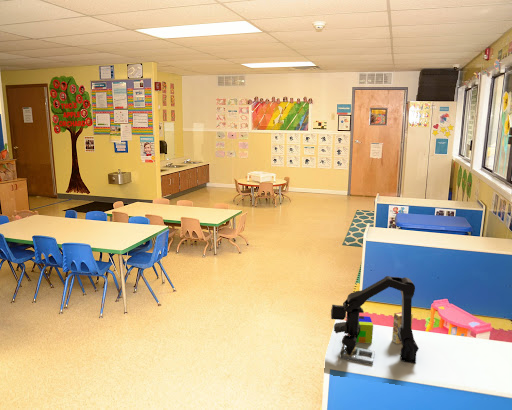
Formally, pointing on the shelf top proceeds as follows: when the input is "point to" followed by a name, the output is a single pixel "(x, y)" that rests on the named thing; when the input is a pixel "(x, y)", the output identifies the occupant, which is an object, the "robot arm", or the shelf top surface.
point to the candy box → (398, 324)
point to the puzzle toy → (365, 330)
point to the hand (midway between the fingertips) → (350, 350)
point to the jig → (357, 357)
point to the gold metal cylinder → (352, 351)
